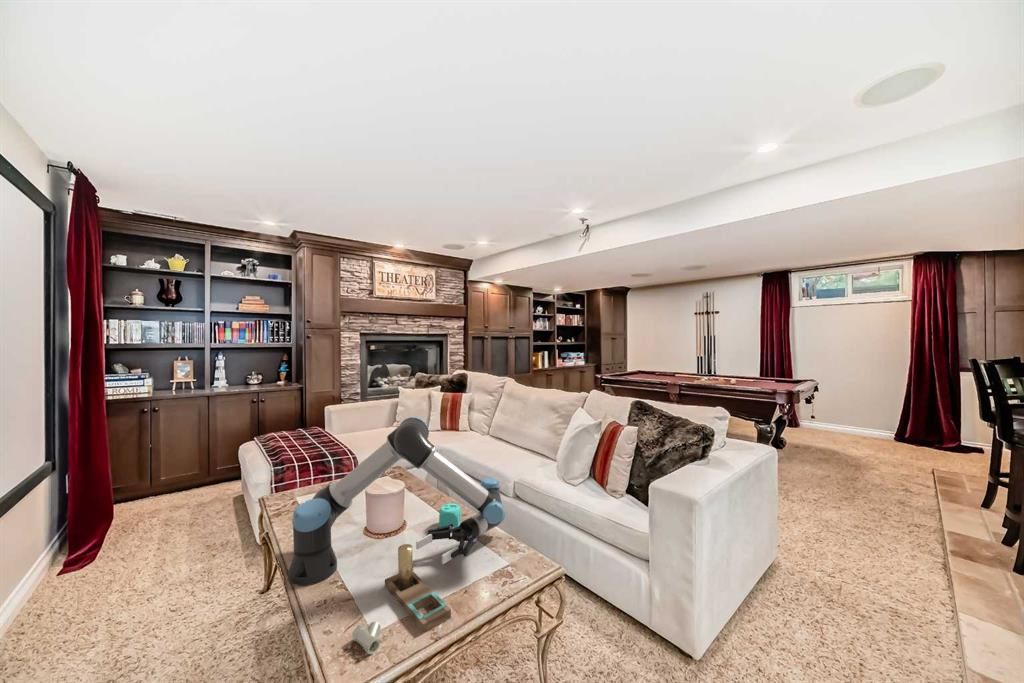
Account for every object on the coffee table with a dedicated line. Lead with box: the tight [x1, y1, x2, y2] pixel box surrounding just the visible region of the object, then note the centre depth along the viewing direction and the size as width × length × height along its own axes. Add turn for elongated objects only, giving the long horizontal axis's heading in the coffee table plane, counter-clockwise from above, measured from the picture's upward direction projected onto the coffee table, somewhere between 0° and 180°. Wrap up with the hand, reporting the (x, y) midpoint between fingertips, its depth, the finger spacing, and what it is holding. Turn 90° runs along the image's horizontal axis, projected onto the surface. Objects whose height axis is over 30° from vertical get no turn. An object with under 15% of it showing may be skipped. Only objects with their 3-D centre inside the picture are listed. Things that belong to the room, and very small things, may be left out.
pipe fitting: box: [351, 621, 381, 655], centre depth 108 cm, size 8×4×7 cm
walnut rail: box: [384, 571, 452, 634], centre depth 123 cm, size 26×9×3 cm, turn 41°
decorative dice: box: [438, 503, 462, 528], centre depth 170 cm, size 8×8×8 cm
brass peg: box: [397, 543, 414, 591], centre depth 128 cm, size 4×4×14 cm
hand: (429, 552), depth 136 cm, fingers open, 13 cm apart
